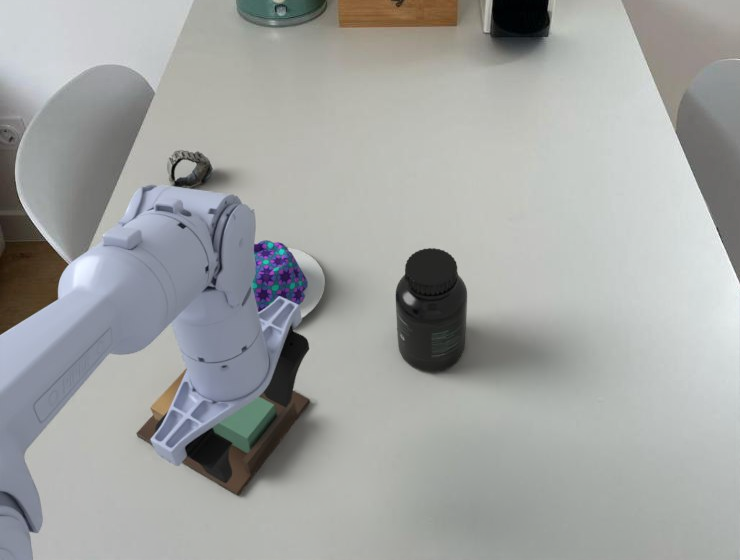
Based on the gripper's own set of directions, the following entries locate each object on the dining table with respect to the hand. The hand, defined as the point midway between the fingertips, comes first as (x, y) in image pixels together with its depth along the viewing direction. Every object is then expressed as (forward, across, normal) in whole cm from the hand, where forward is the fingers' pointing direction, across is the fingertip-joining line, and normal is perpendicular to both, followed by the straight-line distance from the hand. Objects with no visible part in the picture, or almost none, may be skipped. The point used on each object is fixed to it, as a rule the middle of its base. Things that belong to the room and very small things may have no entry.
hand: (249, 435), depth 65 cm
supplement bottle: (+10, -21, +5) cm, 24 cm away
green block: (+9, -4, -6) cm, 11 cm away
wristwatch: (+10, -29, -34) cm, 46 cm away
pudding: (+10, -19, -14) cm, 25 cm away
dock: (+9, -4, -8) cm, 13 cm away
